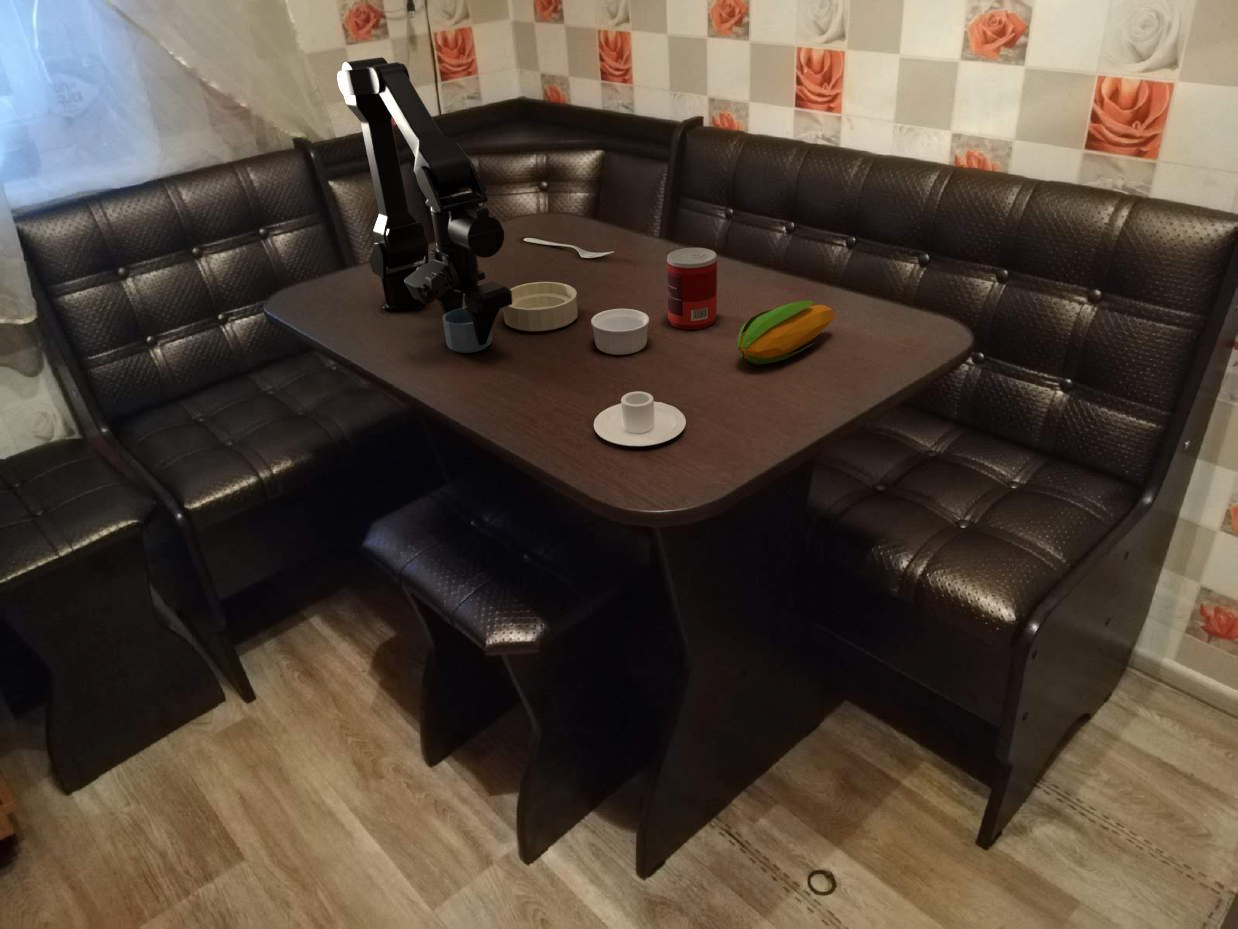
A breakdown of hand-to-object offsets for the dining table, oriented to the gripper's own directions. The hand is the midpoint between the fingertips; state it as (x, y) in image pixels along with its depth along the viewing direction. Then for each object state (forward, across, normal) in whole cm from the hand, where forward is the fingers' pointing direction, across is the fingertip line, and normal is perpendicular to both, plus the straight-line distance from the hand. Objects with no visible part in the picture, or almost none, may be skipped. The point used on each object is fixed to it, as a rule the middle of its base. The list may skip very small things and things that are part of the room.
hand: (469, 337), depth 145 cm
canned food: (+1, +19, +30) cm, 36 cm away
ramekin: (+1, +18, +16) cm, 24 cm away
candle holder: (+1, +39, +1) cm, 39 cm away
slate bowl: (+1, 0, 0) cm, 1 cm away
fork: (+2, -24, +39) cm, 46 cm away
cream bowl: (+1, 0, +14) cm, 14 cm away
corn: (+1, +38, +32) cm, 49 cm away
